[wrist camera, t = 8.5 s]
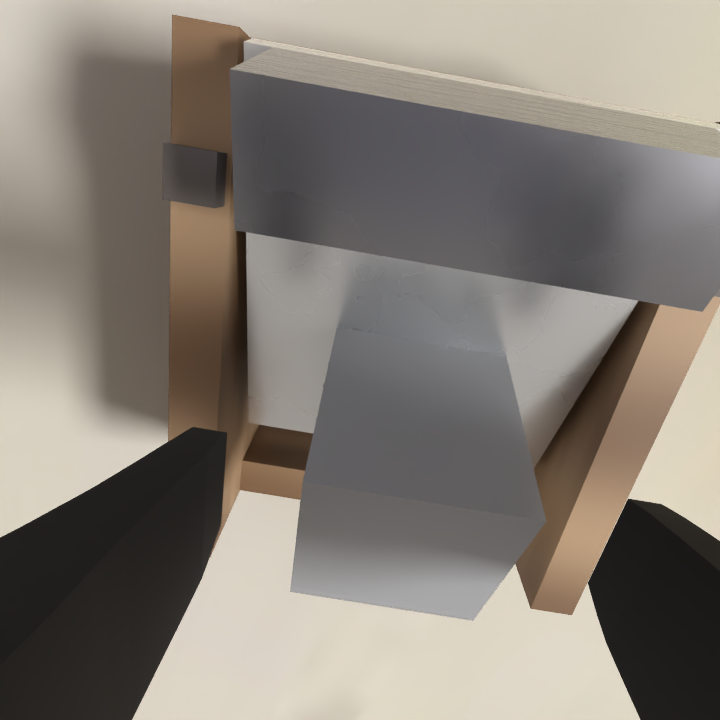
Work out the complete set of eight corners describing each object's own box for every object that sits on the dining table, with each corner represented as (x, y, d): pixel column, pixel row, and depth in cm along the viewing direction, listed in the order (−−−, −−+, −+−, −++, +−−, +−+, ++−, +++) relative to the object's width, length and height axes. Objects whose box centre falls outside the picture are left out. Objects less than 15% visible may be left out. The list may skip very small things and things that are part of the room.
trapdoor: (252, 38, 8) (191, 62, 6) (724, 124, 8) (841, 180, 6) (253, 408, 14) (222, 491, 12) (529, 454, 14) (551, 544, 12)
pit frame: (251, 73, 13) (157, 3, 8) (645, 145, 14) (830, 128, 8) (227, 443, 18) (157, 568, 13) (519, 492, 18) (580, 634, 13)
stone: (320, 439, 14) (290, 591, 11) (336, 326, 11) (302, 481, 8) (458, 462, 14) (472, 620, 11) (506, 356, 11) (546, 521, 8)
